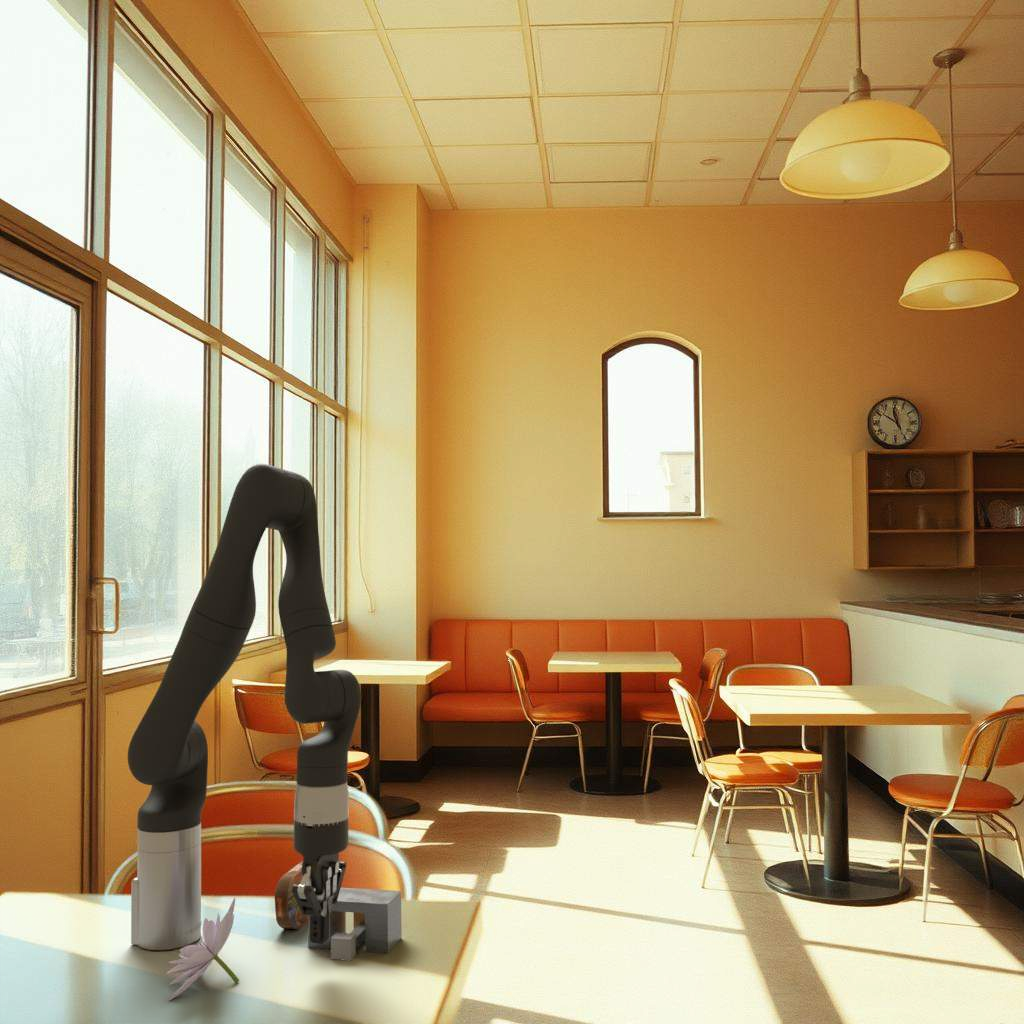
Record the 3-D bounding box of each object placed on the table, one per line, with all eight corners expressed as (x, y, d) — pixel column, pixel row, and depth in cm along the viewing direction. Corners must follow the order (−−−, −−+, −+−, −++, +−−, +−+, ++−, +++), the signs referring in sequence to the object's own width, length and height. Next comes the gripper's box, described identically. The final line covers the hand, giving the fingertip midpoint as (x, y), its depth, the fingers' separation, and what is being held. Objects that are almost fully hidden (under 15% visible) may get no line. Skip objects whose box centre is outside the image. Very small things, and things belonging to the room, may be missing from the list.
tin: (290, 937, 153) (289, 881, 154) (271, 936, 154) (270, 880, 154) (327, 904, 168) (327, 853, 168) (309, 903, 169) (309, 852, 169)
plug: (327, 959, 144) (327, 930, 144) (364, 920, 160) (364, 895, 160) (354, 960, 143) (353, 932, 144) (388, 922, 159) (388, 896, 159)
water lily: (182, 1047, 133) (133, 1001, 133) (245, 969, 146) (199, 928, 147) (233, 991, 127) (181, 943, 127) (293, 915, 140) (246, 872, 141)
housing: (308, 947, 149) (307, 899, 149) (324, 932, 155) (324, 886, 155) (388, 953, 146) (387, 904, 146) (401, 938, 152) (401, 891, 152)
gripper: (317, 802, 148) (315, 922, 147) (274, 824, 135) (272, 956, 134) (364, 805, 146) (363, 927, 145) (326, 828, 133) (323, 962, 132)
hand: (319, 941), depth 139 cm, fingers closed
